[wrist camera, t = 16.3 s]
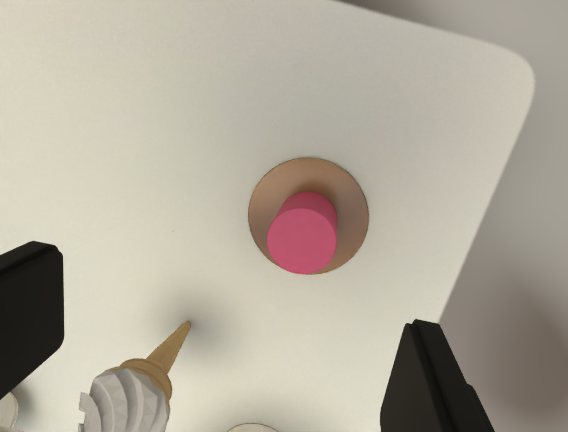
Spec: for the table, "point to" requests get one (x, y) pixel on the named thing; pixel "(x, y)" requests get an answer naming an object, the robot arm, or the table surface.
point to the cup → (251, 428)
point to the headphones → (8, 411)
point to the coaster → (318, 180)
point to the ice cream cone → (133, 392)
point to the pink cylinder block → (303, 233)
